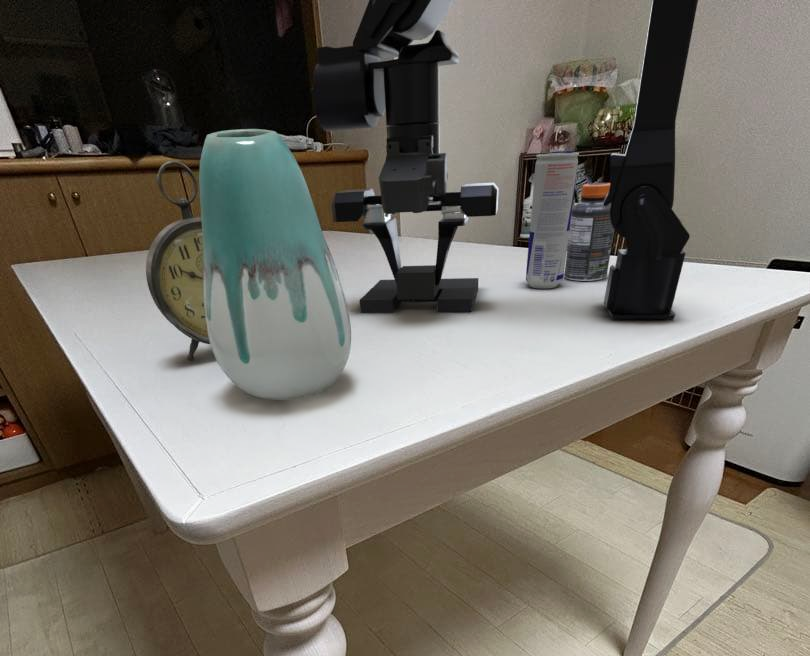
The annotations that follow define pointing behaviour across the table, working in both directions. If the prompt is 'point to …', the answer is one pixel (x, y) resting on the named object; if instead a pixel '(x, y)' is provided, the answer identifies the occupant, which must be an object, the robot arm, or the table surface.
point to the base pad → (449, 299)
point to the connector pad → (416, 283)
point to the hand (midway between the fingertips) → (418, 284)
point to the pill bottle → (590, 235)
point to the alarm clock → (179, 270)
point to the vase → (268, 270)
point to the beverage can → (551, 218)
